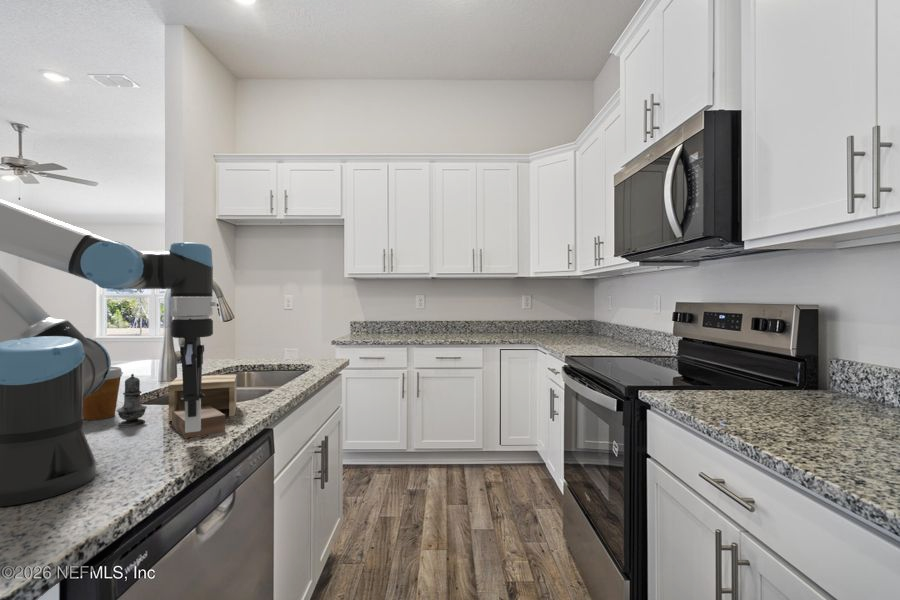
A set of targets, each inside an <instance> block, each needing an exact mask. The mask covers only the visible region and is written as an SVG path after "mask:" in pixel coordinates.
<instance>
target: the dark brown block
mask: <svg viewBox="0 0 900 600" xmlns="http://www.w3.org/2000/svg"><path fill="white" fill-rule="evenodd" d="M172 426H173V427H174V428H175V429H176V430H177V431H176V430H175V429H174V428H173V427H172ZM171 427H172V428H173V429H174V430H175V431H176V432H178V433H179V434H180V435H181V436H182V437H183V438H184V439H190V438H195V437H200V436H205V435H204V434H206V435H210V434H215V433H216V434H217V433H221V432H225V431H226V414H225V413H223V412H221V411H220V410H219V409H218V410H216V409H215V408H213V407H211V406H210V405H209V406H202V407H201V430H200V431H197V432H188V433H185V409H181V410H175V411H172V422H171ZM199 435H200V436H199ZM194 436H195V437H194ZM189 437H190V438H189Z"/></svg>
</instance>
